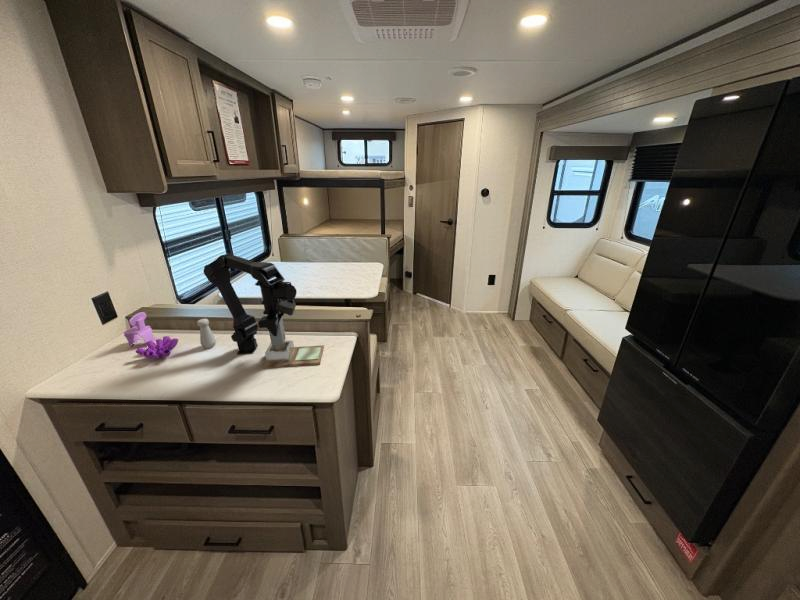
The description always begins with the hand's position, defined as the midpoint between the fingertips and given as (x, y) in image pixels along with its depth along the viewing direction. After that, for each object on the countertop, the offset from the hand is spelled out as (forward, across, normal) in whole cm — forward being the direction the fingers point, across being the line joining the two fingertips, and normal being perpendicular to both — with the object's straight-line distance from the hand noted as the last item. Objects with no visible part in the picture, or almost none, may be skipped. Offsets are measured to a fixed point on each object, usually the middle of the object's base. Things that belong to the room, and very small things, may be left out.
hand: (277, 333), depth 122 cm
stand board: (+12, 0, -5) cm, 13 cm away
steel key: (+4, 0, 0) cm, 4 cm away
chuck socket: (+12, 0, 0) cm, 12 cm away
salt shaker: (+12, +13, +34) cm, 38 cm away
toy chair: (+12, +19, +65) cm, 69 cm away
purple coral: (+12, +8, +51) cm, 53 cm away
